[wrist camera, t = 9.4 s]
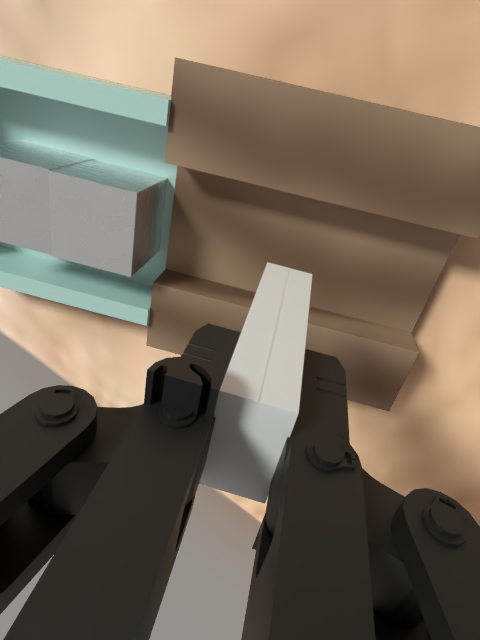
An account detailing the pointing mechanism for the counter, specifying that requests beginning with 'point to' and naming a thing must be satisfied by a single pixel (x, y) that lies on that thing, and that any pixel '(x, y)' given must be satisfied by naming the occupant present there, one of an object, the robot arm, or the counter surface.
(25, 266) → the tray
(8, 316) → the counter surface
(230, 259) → the slot board
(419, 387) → the counter surface
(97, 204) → the grey wood-grain cube
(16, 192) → the grey cube-shaped block
